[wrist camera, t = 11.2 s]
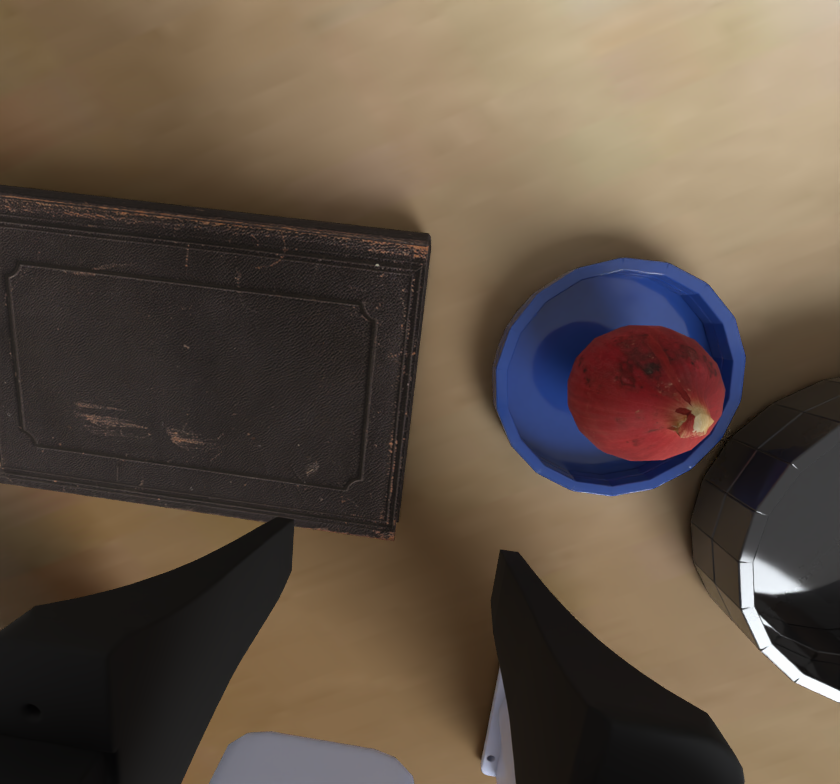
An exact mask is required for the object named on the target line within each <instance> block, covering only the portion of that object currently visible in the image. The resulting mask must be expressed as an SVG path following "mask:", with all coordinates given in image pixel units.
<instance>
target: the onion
mask: <svg viewBox="0 0 840 784" xmlns="http://www.w3.org/2000/svg"><path fill="white" fill-rule="evenodd" d="M724 397H725V387H724V383H723V380H722V377H721V373H720V370H719V367H718V365H717V363H716V362H715V361H714V360H713V359H712V357H711V356H710V355H709V354H708V353H707V352H706V351H705V350H704V349H703V347H702V346H701V345H700V344H699V343H698V342H697V341H696V340H694V339H692V338H690V337H687V336H685V335H683V334H681V333H678V332H676V331H674V330H672V329H669V328H666V327H662V326H646V325H628V326H624V327H620V328H618V329H615V330H613V331H610V332H608V333H606V334H603V335H601V336H598V337H596V338H594V339H593V340H592V342H591V343H590V344H589V345H588V346H587V347H586V348H585V349H584V350H583V351H582V352H581V353H580V354H579V355H578V356H577V357H576V358H575V361H574V364H573V367H572V370H571V373H570V375H569V378H568V381H567V399H568V407H569V410H570V412H571V414H572V416H573V418H574V421H575V423H576V425H577V427H578V429H579V431H580V432H581V433H582V434H583V435H584V436H585V437H586V438H588V439H589V440H590V441H591V442H592V443H593V444H594V445H595V446H596V447H597V448H598V449H600V450H601V451H603V452H605V453H607V454H611V455H614V456H617V457H620V458H623V459H626V460H629V461H651V460H665V459H668V458H670V457H673V456H676V455H679V454H681V453H684V452H687V451H689V450H692V449H693V448H694V447H695V446H696V445H697V444H698V443H699V442H701V441H702V440H703V439H704V438H705V437H706V436H707V435H709V434H710V432H711V430H712V429H713V427H714V426H715V424H716V423H717V421H718V420H719V418H720V417H721V415H722V410H723V403H724Z"/></svg>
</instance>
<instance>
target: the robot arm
mask: <svg viewBox="0 0 840 784" xmlns="http://www.w3.org/2000/svg"><path fill="white" fill-rule="evenodd" d="M293 536H294V519H289V518H282V517H276V518H274V519H272V520H270V521H268V522H267V523H265V524H263V525H261V526H260V527H258V528H256V529H254V530H253V531H251V532H249V533H247V534H246V535H244V536H242V537H240V538H238V539H237V540H235V541H233V542H231V543H229V544H227V545H225V546H223V547H222V548H220V549H218V550H216V551H214V552H212V553H210V554H208V555H206V556H204V557H202V558H199V559H197V560H195V561H193V562H191V563H188V564H186V565H183V566H181V567H179V568H176V569H174V570H171V571H169V572H166V573H163V574H160V575H157V576H154V577H151V578H148V579H145V580H143V581H140V582H137V583H134V584H130V585H127V586H123V587H120V588H116V589H113V590H109V591H105V592H101V593H97V594H93V595H89V596H85V597H80V598H75V599H70V600H65V601H60V602H55V603H50V604H44V605H38V606H35V607H33V608H32V609H30V610H29V611H28V612H26V613H25V614H23V615H22V616H21V617H19V618H18V619H16V620H15V621H14V622H12V623H11V624H9V625H8V626H7V627H5V628H4V629H2V630H1V631H0V784H181V782H182V780H183V778H184V776H185V774H186V771H187V769H188V767H189V765H190V763H191V760H192V758H193V756H194V754H195V752H196V749H197V747H198V745H199V743H200V741H201V739H202V737H203V735H204V732H205V730H206V728H207V726H208V724H209V722H210V720H211V718H212V716H213V714H214V712H215V709H216V707H217V705H218V703H219V701H220V699H221V697H222V695H223V693H224V691H225V689H226V687H227V685H228V683H229V681H230V679H231V677H232V675H233V673H234V672H235V670H236V668H237V666H238V665H239V663H240V661H241V659H242V658H243V656H244V655H245V653H246V651H247V650H248V648H249V646H250V645H251V643H252V642H253V640H254V638H255V637H256V635H257V634H258V632H259V630H260V629H261V627H262V625H263V624H264V622H265V621H266V619H267V617H268V616H269V614H270V612H271V611H272V609H273V607H274V606H275V604H276V602H277V601H278V599H279V597H280V595H281V593H282V591H283V589H284V587H285V584H286V582H287V580H288V578H289V575H290V573H291V571H292V554H293ZM491 612H492V625H493V634H494V640H495V645H496V650H497V655H498V661H499V666H500V667H499V673H498V678H497V683H496V688H495V693H494V698H493V703H492V708H491V713H490V718H489V723H488V728H487V734H486V739H485V744H484V749H483V754H482V759H481V771H482V772H483V773H484V774H485V775H489V776H495V777H496V780H497V784H744V782H745V781H744V774H743V768H742V766H741V764H740V763H739V761H738V759H737V757H736V755H735V754H734V752H733V751H732V749H731V748H730V746H729V745H728V743H727V741H726V740H725V738H724V737H723V735H722V734H721V732H720V731H719V729H718V728H717V726H716V725H715V723H714V722H713V720H712V719H711V718H710V716H709V715H708V713H706V712H704V711H702V710H701V709H699V708H697V707H696V706H694V705H692V704H690V703H689V702H687V701H685V700H684V699H682V698H680V697H679V696H677V695H675V694H673V693H672V692H670V691H668V690H667V689H665V688H664V687H662V686H661V685H659V684H658V683H656V682H655V681H653V680H652V679H650V678H649V677H647V676H646V675H644V674H643V673H641V672H640V671H638V670H637V669H635V668H634V667H633V666H631V665H630V664H629V663H627V662H626V661H625V660H623V659H622V658H621V657H619V656H618V655H617V654H616V653H614V652H613V651H612V650H610V649H609V648H608V647H607V646H605V645H604V644H603V643H602V642H601V641H599V640H598V639H597V638H596V637H595V636H594V635H593V634H592V633H591V632H589V631H588V630H587V629H586V628H585V627H584V626H583V625H582V624H581V623H580V622H579V621H578V620H576V619H575V618H574V617H573V616H572V615H571V613H570V612H569V611H568V610H567V609H566V608H565V607H564V606H563V605H562V604H561V603H560V602H559V601H558V600H557V599H556V597H555V596H554V595H553V594H552V593H551V592H550V591H549V590H548V588H547V587H546V586H545V585H544V584H543V582H542V581H541V580H540V579H539V578H538V576H537V575H536V574H535V573H534V571H533V570H532V569H531V568H530V566H529V565H528V564H527V562H526V561H525V560H524V559H523V557H522V556H521V555H520V554H519V553H518V552H514V551H507V550H501V549H500V553H499V559H498V564H497V570H496V575H495V581H494V586H493V592H492V597H491ZM209 784H414V780H413V776H412V775H411V774H410V773H409V771H408V770H407V769H406V768H405V767H404V766H403V765H402V764H401V763H400V762H399V761H398V760H397V759H396V758H395V757H394V756H391V755H388V754H386V753H383V752H381V751H378V750H376V749H372V748H366V747H360V746H354V745H348V744H342V743H336V742H330V741H325V740H319V739H313V738H307V737H301V736H295V735H289V734H283V733H278V732H272V731H271V732H250V733H247V734H245V735H243V736H242V737H240V738H238V739H237V740H235V741H234V742H232V743H230V744H229V745H228V747H227V749H226V751H225V753H224V755H223V757H222V759H221V761H220V763H219V765H218V767H217V769H216V771H215V773H214V775H213V777H212V779H211V781H210V783H209Z"/></svg>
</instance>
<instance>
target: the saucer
mask: <svg viewBox="0 0 840 784" xmlns="http://www.w3.org/2000/svg"><path fill="white" fill-rule="evenodd" d="M628 325H646V326H662V327H666V328H669V329H672V330H674V331H676V332H678V333H681V334H683V335H685V336H687V337H690V338H692V339H694V340H696V341H697V342H698V343H699V344H700V345H701V346H702V347H703V349H704V350H705V351H706V352H707V353H708V354H709V355H710V356H711V357H712V359H713V360H714V361H715V362H716V363H717V365H718V367H719V370H720V373H721V377H722V380H723V383H724V387H725V397H724V403H723V410H722V415H721V417H720V418H719V420H718V421H717V423H716V424H715V426H714V427H713V429H712V430H711V432H710V434H709V435H707V436H706V437H705V438H704V439H703V440H702V441H701V442H699V443H698V444H697V445H696V446H695V447H694V448H693V449H692V450H689V451H687V452H684V453H681V454H679V455H676V456H673V457H670V458H668V459H665V460H651V461H629V460H626V459H623V458H620V457H617V456H614V455H611V454H607V453H605V452H603V451H601V450H600V449H598V448H597V447H596V446H595V445H594V444H593V443H592V442H591V441H590V440H589V439H588V438H586V437H585V436H584V435H583V434H582V433H581V432H580V431H579V429H578V427H577V425H576V423H575V421H574V418H573V416H572V414H571V412H570V410H569V407H568V399H567V381H568V378H569V375H570V373H571V370H572V367H573V364H574V361H575V358H576V357H577V356H578V355H579V354H580V353H581V352H582V351H583V350H584V349H585V348H586V347H587V346H588V345H589V344H590V343H591V342H592V340H593V339H594V338H596V337H598V336H601V335H603V334H606V333H608V332H610V331H613V330H615V329H618V328H620V327H624V326H628ZM745 357H746V355H745V352H744V348H743V345H742V341H741V338H740V334H739V330H738V327H737V323H736V320H735V317H734V316H733V314H732V313H731V312H730V311H729V309H728V308H727V307H726V306H725V304H724V303H723V302H722V301H721V299H720V298H719V297H718V296H717V294H716V293H715V292H714V291H713V289H712V288H711V287H710V286H709V285H708V284H707V283H706V282H704V281H702V280H700V279H698V278H697V277H695V276H693V275H691V274H689V273H687V272H685V271H683V270H682V269H680V268H678V267H676V266H674V265H672V264H670V263H667V262H661V261H653V260H644V259H635V258H626V257H623V258H617V259H612V260H608V261H604V262H600V263H596V264H592V265H588V266H583V267H579V268H576V269H573V270H570V271H568V272H566V273H564V274H563V275H561V276H560V277H558V278H556V279H555V280H553V281H551V282H550V283H548V284H547V285H545V286H544V287H542V288H541V289H539V290H538V291H536V292H535V293H533V294H532V295H531V296H530V297H529V298H528V300H527V301H526V302H525V303H524V304H523V305H522V306H521V307H520V309H519V310H518V311H517V312H516V314H515V315H514V316H513V318H512V319H511V321H510V322H509V323H508V325H507V326H506V328H505V330H504V333H503V335H502V337H501V340H500V342H499V345H498V348H497V350H496V355H495V359H494V362H493V366H492V391H493V403H494V407H495V409H496V412H497V414H498V417H499V419H500V422H501V424H502V427H503V429H504V432H505V434H506V436H507V438H508V440H509V443H510V444H511V446H512V447H513V448H514V449H515V450H516V451H517V453H518V454H519V455H520V456H521V457H522V458H523V459H524V460H525V461H526V462H527V463H528V464H529V465H530V467H531V468H532V469H533V470H534V471H535V472H536V473H538V474H539V475H541V476H543V477H545V478H547V479H549V480H551V481H553V482H555V483H557V484H559V485H561V486H563V487H565V488H567V489H569V490H572V491H576V492H584V493H591V494H598V495H605V496H617V495H623V494H628V493H634V492H640V491H645V490H651V489H652V488H653V489H654V488H656V487H658V486H660V485H662V484H664V483H666V482H668V481H670V480H672V479H674V478H676V477H678V476H680V475H681V474H683V473H685V472H687V471H689V470H690V469H692V468H693V467H694V466H695V465H696V464H697V463H698V462H699V461H700V460H701V459H702V458H703V457H704V456H705V455H706V454H707V453H708V452H709V451H710V450H711V449H712V448H713V447H714V446H715V445H716V444H717V443H718V442H719V441H720V440H721V438H723V436H724V434H725V432H726V430H727V428H728V426H729V424H730V422H731V420H732V418H733V416H734V414H735V412H736V410H737V408H738V406H739V404H740V402H741V397H742V389H743V380H744V371H745V362H746V358H745Z"/></svg>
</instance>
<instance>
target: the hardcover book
mask: <svg viewBox="0 0 840 784" xmlns="http://www.w3.org/2000/svg"><path fill="white" fill-rule="evenodd" d="M430 253H431V236H430V235H429V234H428V233H419V232H410V231H401V230H393V229H384V228H375V227H366V226H357V225H349V224H340V223H331V222H322V221H313V220H305V219H296V218H287V217H278V216H269V215H261V214H252V213H243V212H234V211H225V210H217V209H208V208H199V207H190V206H182V205H173V204H164V203H155V202H146V201H138V200H129V199H120V198H111V197H102V196H94V195H85V194H76V193H67V192H58V191H50V190H41V189H32V188H23V187H14V186H6V185H0V483H4V484H11V485H18V486H25V487H31V488H38V489H45V490H52V491H58V492H65V493H72V494H79V495H85V496H92V497H99V498H106V499H112V500H119V501H126V502H133V503H139V504H146V505H153V506H160V507H166V508H173V509H180V510H187V511H193V512H200V513H207V514H214V515H220V516H227V517H234V518H241V519H247V520H254V521H261V522H268V521H270V520H272V519H274V518H276V517H282V518H289V519H294V526H295V527H301V528H308V529H315V530H322V531H328V532H335V533H342V534H349V535H355V536H362V537H369V538H376V539H382V540H389V541H394V539H395V531H396V522H398V521H399V514H400V506H401V497H402V489H403V480H404V472H405V464H406V455H407V447H408V438H409V430H410V421H411V413H412V405H413V396H414V388H415V379H416V371H417V363H418V354H419V346H420V337H421V329H422V320H423V312H424V304H425V295H426V287H427V278H428V270H429V262H430Z"/></svg>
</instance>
